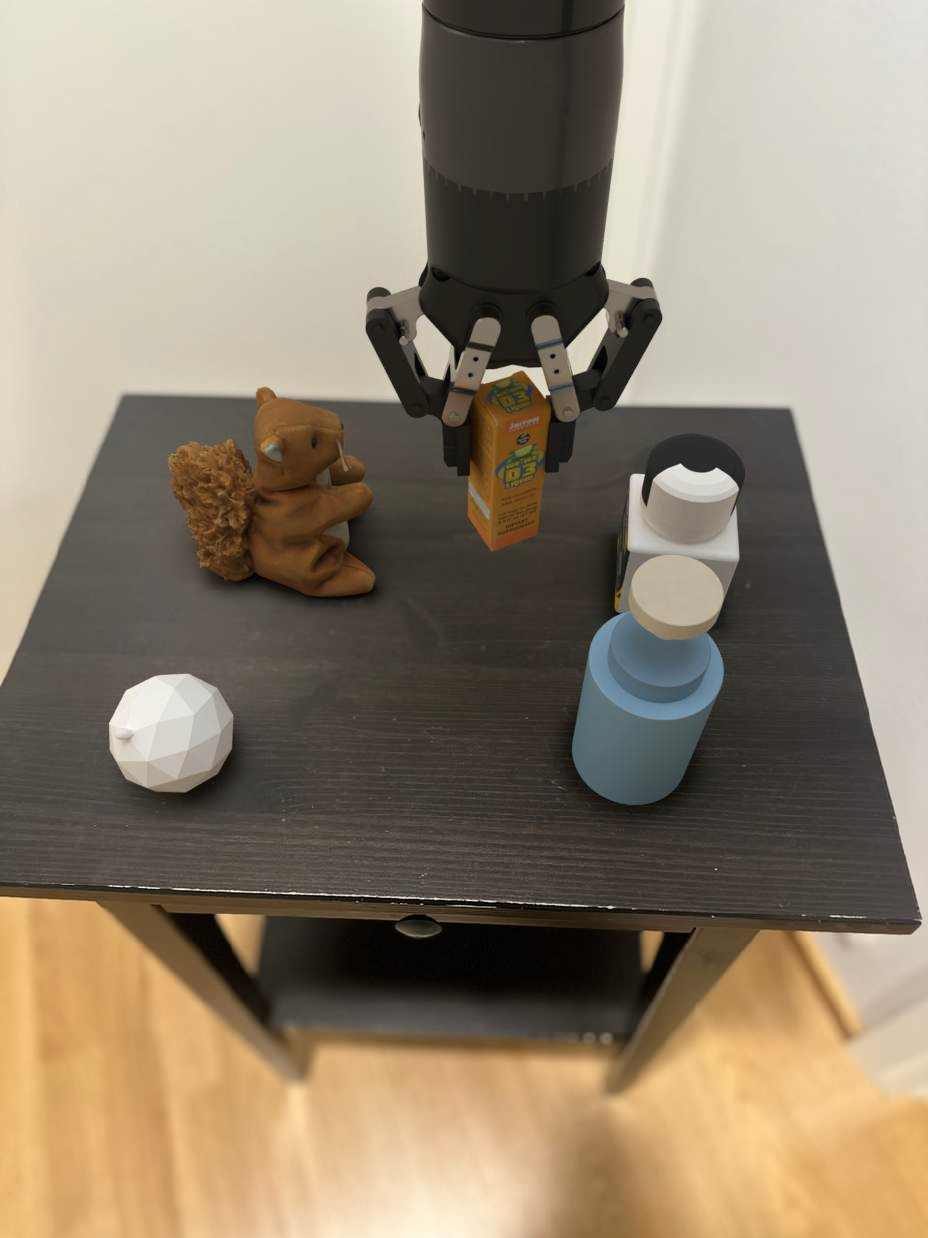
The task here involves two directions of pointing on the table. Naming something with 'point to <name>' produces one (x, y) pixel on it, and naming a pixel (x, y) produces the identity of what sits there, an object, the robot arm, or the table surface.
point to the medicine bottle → (682, 510)
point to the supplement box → (507, 459)
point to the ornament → (171, 733)
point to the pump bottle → (642, 710)
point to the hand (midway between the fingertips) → (507, 462)
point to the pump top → (675, 597)
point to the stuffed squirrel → (278, 501)
